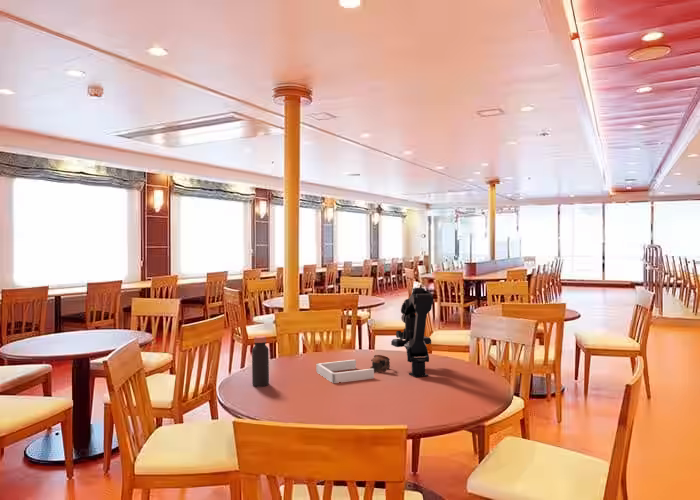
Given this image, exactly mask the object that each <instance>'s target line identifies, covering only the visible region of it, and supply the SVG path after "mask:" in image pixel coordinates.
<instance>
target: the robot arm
mask: <svg viewBox="0 0 700 500" xmlns="http://www.w3.org/2000/svg"><path fill="white" fill-rule="evenodd" d="M433 305H434V296H433V294H432V292H431V291H428V290H426V288H424V287H414V288H413V287H412V292H411V294H410V296H409V298H405V300H404V301H403V302H402V304H401V307H400V313H401V318H400V319H401V321H402V322H403V323H404V325H405V326H404V328H403V331H402V330H396V331H395V335H396V336H395V337H396V338H393V339H392V340H391V344H390V345H391V346H392V347H395V348H402V347H404V348H405V350H406V357H407V363H410V364H411V372H408V375H410V376H412V377H414V378H421V377H429V374H428V373H426V363H429V362H430V356H429V351H428V346H427V345H432V339H431V337H429V336H425V335H426V333H425V332H426V325H427V324H426V323H427V316H428V314H429V313H430V311H432V306H433Z"/></svg>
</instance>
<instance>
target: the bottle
mask: <svg viewBox="0 0 700 500" xmlns="http://www.w3.org/2000/svg"><path fill="white" fill-rule="evenodd" d="M253 338H254V339H253V341H254V346H253V347H252V350H251V369H252V370H251V374H252V375H251V378H252V379H251V382H252V386H253V385H254V386H253V387H257V386H262V387H265V386H264V385H267V384H268V385H269V384H270V371H269V370H270V367H269V366H270V364H269V363H270V361H269V358H270V354H269V353H270V352H269V350H270V349H269V347H268V346H267V345H266V343H267V336H266V335H256V336H254V337H253ZM268 385H267V386H268Z"/></svg>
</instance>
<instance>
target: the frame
mask: <svg viewBox="0 0 700 500" xmlns="http://www.w3.org/2000/svg"><path fill="white" fill-rule="evenodd" d="M315 365H316V366H315V368H316V369H315V370H316V372H317V373H316V374H318V375H319V374H320V376H321V377H322V376H323V377H322V378H324V379H325V378H326V379H325V380H327V381H328V382H330V383H331V382H332V383H331V384H339V382H341V383H347V382H355V381H364V380H371V379H373V380H374V379H375V372H374V369H370V368H367V369H358V370H356V369H357V360H356V359H347V360H338V361H331V362H330V361H329V362H320V363H316V364H315ZM346 370H347V371H346ZM348 370H349V371H348ZM338 371H339V372H338Z"/></svg>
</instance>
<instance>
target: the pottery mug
mask: <svg viewBox="0 0 700 500" xmlns="http://www.w3.org/2000/svg"><path fill="white" fill-rule="evenodd" d="M371 363H372V364H371V366H370V367H369V369H374V373H378V374H381V372H382V371H383V372H386V371H387V370H390V367H391V365H390V364H391V363H390V358H389V357H388V356H385V355H383V354H382V355H381V354H375V355H373V358H372V359H371Z"/></svg>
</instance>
